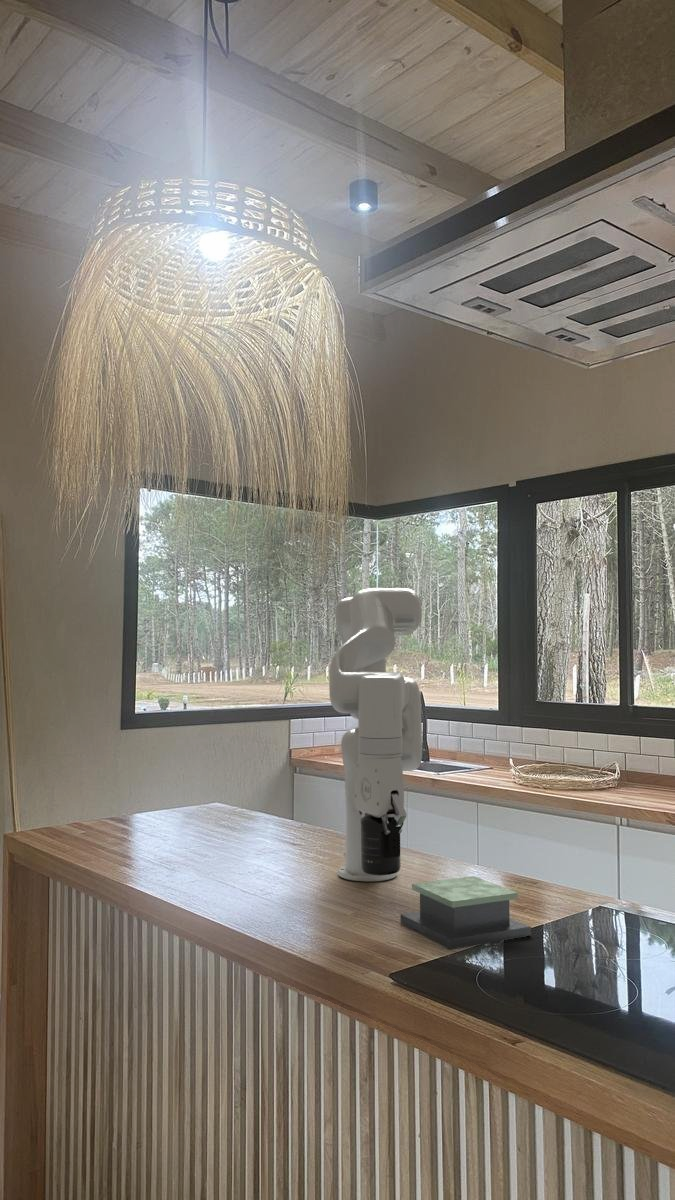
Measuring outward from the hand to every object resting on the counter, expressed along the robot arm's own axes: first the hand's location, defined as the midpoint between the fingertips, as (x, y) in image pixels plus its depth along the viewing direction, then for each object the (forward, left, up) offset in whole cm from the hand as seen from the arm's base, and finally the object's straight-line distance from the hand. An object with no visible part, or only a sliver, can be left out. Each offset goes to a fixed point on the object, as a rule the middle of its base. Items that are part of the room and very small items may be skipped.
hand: (380, 851), depth 154 cm
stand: (+5, +14, -14) cm, 20 cm away
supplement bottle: (0, 0, -4) cm, 4 cm away
